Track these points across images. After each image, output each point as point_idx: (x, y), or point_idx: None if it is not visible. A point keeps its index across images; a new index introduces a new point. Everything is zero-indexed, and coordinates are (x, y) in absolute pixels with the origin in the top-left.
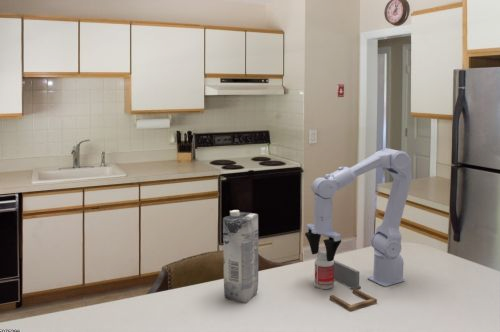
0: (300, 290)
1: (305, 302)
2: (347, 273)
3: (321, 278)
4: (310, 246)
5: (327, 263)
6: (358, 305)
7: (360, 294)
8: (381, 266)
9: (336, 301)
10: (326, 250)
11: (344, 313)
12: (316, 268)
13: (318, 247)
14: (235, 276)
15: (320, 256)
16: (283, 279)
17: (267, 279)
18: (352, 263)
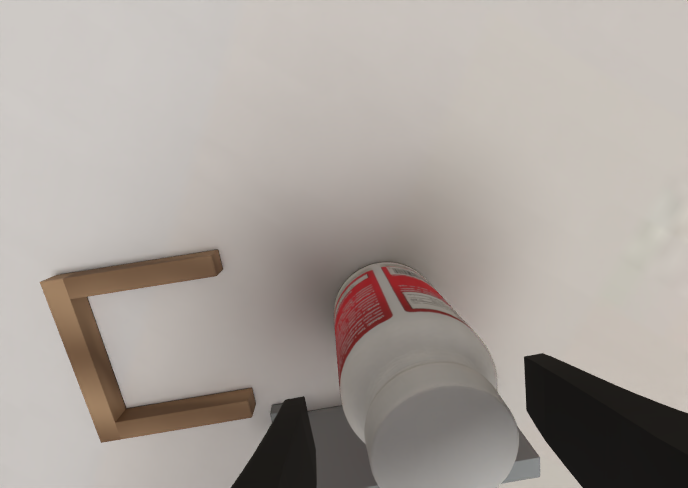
0: (383, 159)
1: (226, 106)
2: (340, 460)
3: (355, 295)
4: (615, 390)
5: (350, 392)
6: (61, 332)
7: (191, 406)
8: None
9: (158, 261)
10: (268, 485)
11: (42, 236)
12: (405, 301)
13: (569, 466)
14: None
15: (409, 385)
16: (562, 140)
17: (614, 42)
18: None
